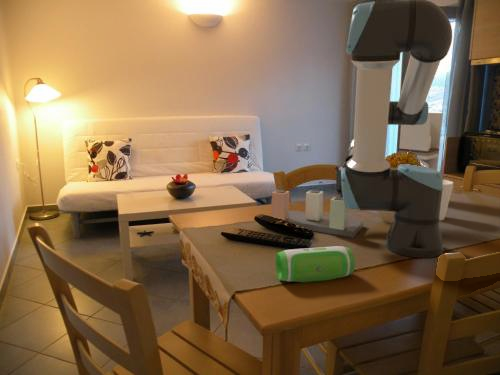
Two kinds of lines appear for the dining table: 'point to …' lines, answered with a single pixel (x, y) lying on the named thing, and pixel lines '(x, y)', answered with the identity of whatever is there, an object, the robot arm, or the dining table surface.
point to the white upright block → (314, 205)
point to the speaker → (314, 264)
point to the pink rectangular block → (280, 204)
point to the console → (324, 224)
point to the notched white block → (423, 140)
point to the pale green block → (338, 214)
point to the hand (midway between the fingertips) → (342, 212)
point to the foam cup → (445, 198)
